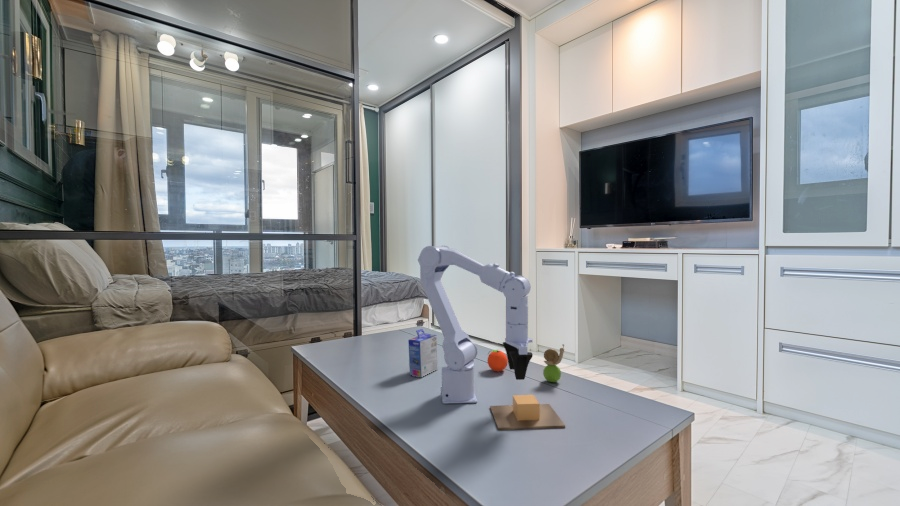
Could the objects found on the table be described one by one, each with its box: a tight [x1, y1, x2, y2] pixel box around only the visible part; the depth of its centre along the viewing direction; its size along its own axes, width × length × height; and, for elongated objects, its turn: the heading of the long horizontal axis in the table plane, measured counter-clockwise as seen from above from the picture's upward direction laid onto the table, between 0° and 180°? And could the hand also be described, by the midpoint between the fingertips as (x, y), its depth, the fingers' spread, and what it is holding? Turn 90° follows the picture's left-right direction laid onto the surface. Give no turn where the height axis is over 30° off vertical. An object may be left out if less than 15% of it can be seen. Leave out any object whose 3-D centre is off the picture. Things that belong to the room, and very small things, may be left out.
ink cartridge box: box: [407, 328, 439, 378], centre depth 128 cm, size 10×6×14 cm, turn 148°
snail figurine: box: [542, 343, 565, 383], centre depth 118 cm, size 5×6×12 cm
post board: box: [489, 403, 566, 431], centre depth 95 cm, size 16×12×3 cm
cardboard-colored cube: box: [512, 394, 541, 421], centre depth 95 cm, size 5×5×4 cm
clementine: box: [487, 349, 508, 372], centre depth 130 cm, size 8×7×7 cm
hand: (516, 373), depth 99 cm, fingers open, 7 cm apart
